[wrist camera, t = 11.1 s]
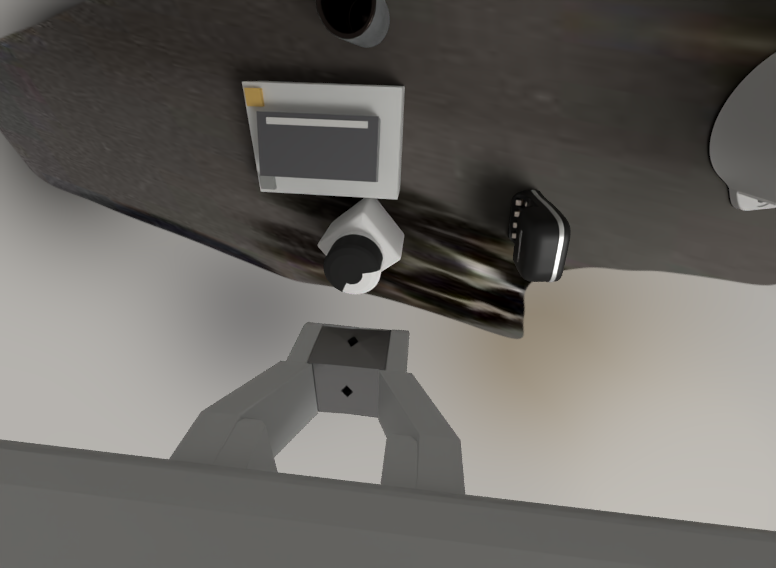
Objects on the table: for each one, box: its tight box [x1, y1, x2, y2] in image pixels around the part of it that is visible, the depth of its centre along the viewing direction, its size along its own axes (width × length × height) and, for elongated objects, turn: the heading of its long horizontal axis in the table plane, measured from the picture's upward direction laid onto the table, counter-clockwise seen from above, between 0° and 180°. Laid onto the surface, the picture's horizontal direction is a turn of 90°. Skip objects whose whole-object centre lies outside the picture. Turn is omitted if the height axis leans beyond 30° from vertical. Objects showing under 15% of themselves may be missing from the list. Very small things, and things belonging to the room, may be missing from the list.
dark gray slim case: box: [256, 111, 381, 182], centre depth 34 cm, size 12×6×2 cm, turn 88°
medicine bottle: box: [318, 198, 404, 294], centre depth 40 cm, size 7×7×12 cm
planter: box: [316, 0, 390, 47], centre depth 29 cm, size 4×4×10 cm
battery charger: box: [508, 190, 570, 282], centre depth 37 cm, size 7×4×11 cm, turn 5°
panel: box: [242, 81, 405, 199], centre depth 37 cm, size 16×11×5 cm
